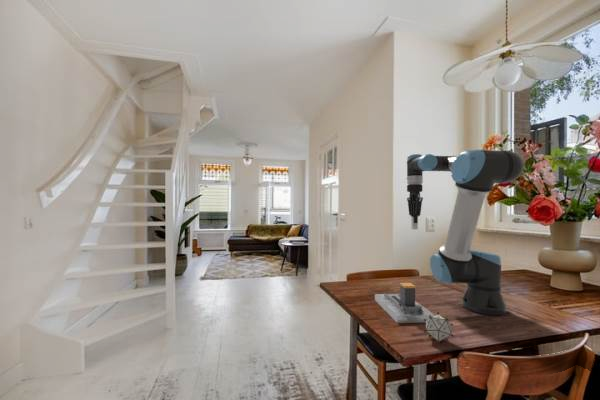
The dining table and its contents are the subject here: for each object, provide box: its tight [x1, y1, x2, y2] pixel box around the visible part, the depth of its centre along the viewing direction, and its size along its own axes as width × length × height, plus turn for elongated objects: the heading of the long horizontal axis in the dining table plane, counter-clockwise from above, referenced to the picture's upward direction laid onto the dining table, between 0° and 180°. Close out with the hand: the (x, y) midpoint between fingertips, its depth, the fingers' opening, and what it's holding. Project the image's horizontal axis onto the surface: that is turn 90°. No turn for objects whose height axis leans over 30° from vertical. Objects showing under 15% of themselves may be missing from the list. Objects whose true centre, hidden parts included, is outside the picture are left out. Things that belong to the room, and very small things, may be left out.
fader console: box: [374, 292, 435, 324], centre depth 112 cm, size 24×14×4 cm, turn 4°
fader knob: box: [399, 282, 416, 306], centre depth 107 cm, size 5×5×9 cm
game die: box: [423, 311, 455, 345], centre depth 87 cm, size 9×8×10 cm
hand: (414, 229), depth 147 cm, fingers closed
